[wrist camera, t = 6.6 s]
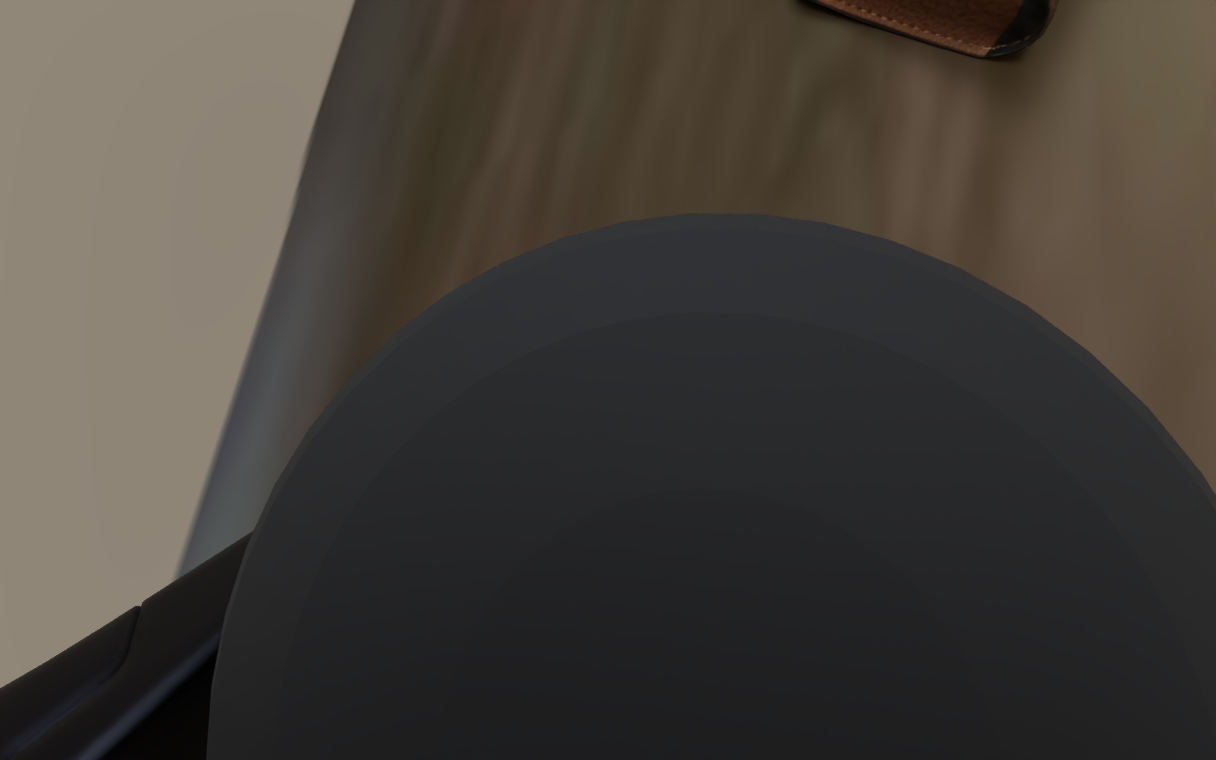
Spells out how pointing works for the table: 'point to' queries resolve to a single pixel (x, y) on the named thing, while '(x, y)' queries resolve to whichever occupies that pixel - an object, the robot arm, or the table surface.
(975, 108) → the table surface
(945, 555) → the medicine bottle
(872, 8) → the sunglasses case
